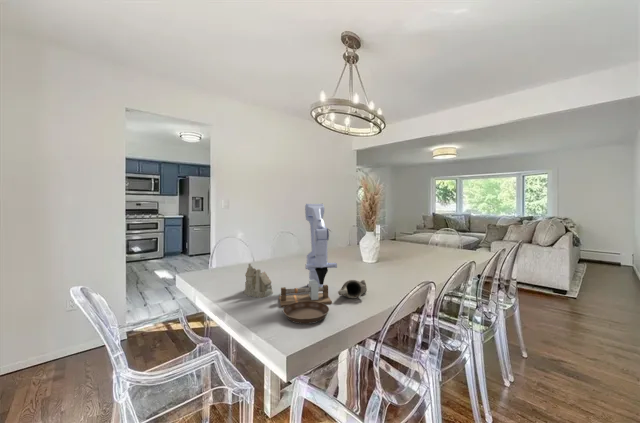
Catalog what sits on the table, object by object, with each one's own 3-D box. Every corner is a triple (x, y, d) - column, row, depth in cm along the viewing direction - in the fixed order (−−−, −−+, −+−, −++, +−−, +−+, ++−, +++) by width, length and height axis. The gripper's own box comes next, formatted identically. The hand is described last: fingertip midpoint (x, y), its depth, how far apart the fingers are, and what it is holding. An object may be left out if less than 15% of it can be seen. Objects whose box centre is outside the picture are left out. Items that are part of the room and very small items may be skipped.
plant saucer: (291, 330, 99) (291, 321, 99) (278, 312, 115) (278, 304, 115) (337, 321, 106) (337, 313, 106) (318, 305, 122) (318, 298, 122)
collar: (309, 295, 131) (308, 280, 131) (315, 294, 132) (315, 279, 132) (311, 300, 124) (311, 284, 124) (318, 299, 125) (318, 283, 125)
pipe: (344, 311, 136) (348, 304, 123) (333, 296, 140) (335, 287, 127) (370, 290, 141) (375, 282, 128) (358, 276, 145) (362, 266, 132)
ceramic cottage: (260, 299, 130) (260, 265, 130) (237, 293, 139) (238, 262, 140) (284, 292, 142) (284, 262, 143) (261, 288, 152) (262, 259, 153)
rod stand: (279, 298, 131) (279, 284, 131) (325, 294, 135) (325, 281, 135) (281, 307, 119) (280, 292, 119) (331, 303, 124) (331, 289, 124)
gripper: (307, 256, 126) (307, 287, 126) (338, 255, 129) (338, 285, 129) (304, 254, 133) (304, 282, 133) (334, 252, 136) (334, 281, 136)
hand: (321, 283), depth 131 cm, fingers closed
